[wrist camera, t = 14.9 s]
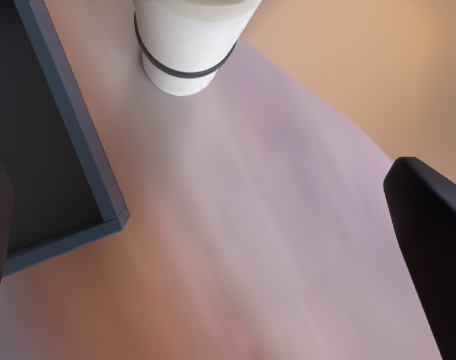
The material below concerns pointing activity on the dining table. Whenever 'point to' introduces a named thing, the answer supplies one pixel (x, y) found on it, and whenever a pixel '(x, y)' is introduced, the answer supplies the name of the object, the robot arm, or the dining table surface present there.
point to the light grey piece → (188, 39)
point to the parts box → (49, 145)
